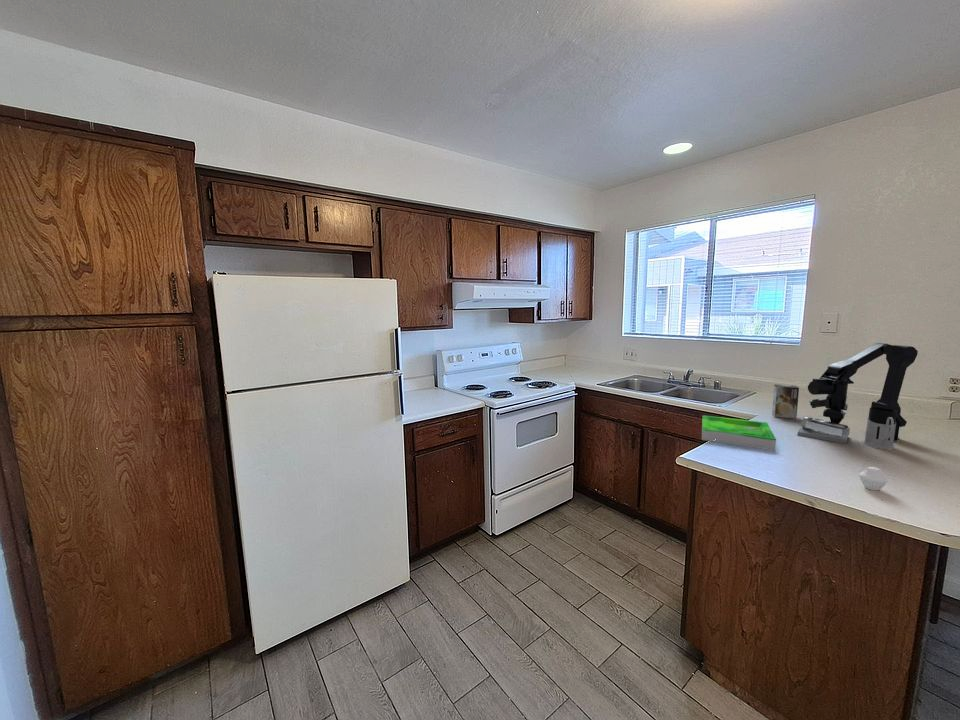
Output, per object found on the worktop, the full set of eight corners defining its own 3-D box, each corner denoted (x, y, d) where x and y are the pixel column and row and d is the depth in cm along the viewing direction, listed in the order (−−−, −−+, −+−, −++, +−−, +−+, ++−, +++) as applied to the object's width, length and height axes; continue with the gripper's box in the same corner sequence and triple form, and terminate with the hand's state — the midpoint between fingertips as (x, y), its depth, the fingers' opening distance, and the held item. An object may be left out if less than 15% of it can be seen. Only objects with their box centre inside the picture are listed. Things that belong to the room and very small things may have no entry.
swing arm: (798, 428, 168) (800, 416, 167) (806, 426, 169) (807, 415, 169) (841, 438, 153) (843, 426, 153) (849, 437, 155) (850, 425, 154)
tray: (702, 425, 182) (702, 415, 181) (766, 433, 169) (767, 422, 168) (701, 440, 160) (702, 429, 160) (774, 451, 148) (776, 439, 147)
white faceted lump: (884, 495, 112) (887, 473, 111) (855, 487, 117) (858, 466, 116) (887, 489, 115) (891, 467, 114) (860, 482, 120) (862, 461, 119)
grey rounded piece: (888, 444, 153) (893, 408, 151) (904, 455, 141) (910, 417, 139) (859, 440, 157) (863, 405, 155) (872, 451, 145) (877, 414, 143)
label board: (847, 436, 161) (848, 432, 161) (846, 443, 153) (846, 439, 153) (801, 428, 173) (801, 425, 172) (797, 435, 164) (797, 431, 164)
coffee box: (793, 415, 193) (796, 385, 191) (796, 419, 188) (800, 387, 186) (771, 413, 198) (774, 383, 195) (773, 416, 192) (776, 386, 190)
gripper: (815, 386, 171) (812, 419, 173) (808, 395, 158) (805, 430, 161) (849, 390, 162) (845, 424, 165) (845, 399, 150) (841, 436, 153)
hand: (833, 428), depth 161 cm, fingers closed
